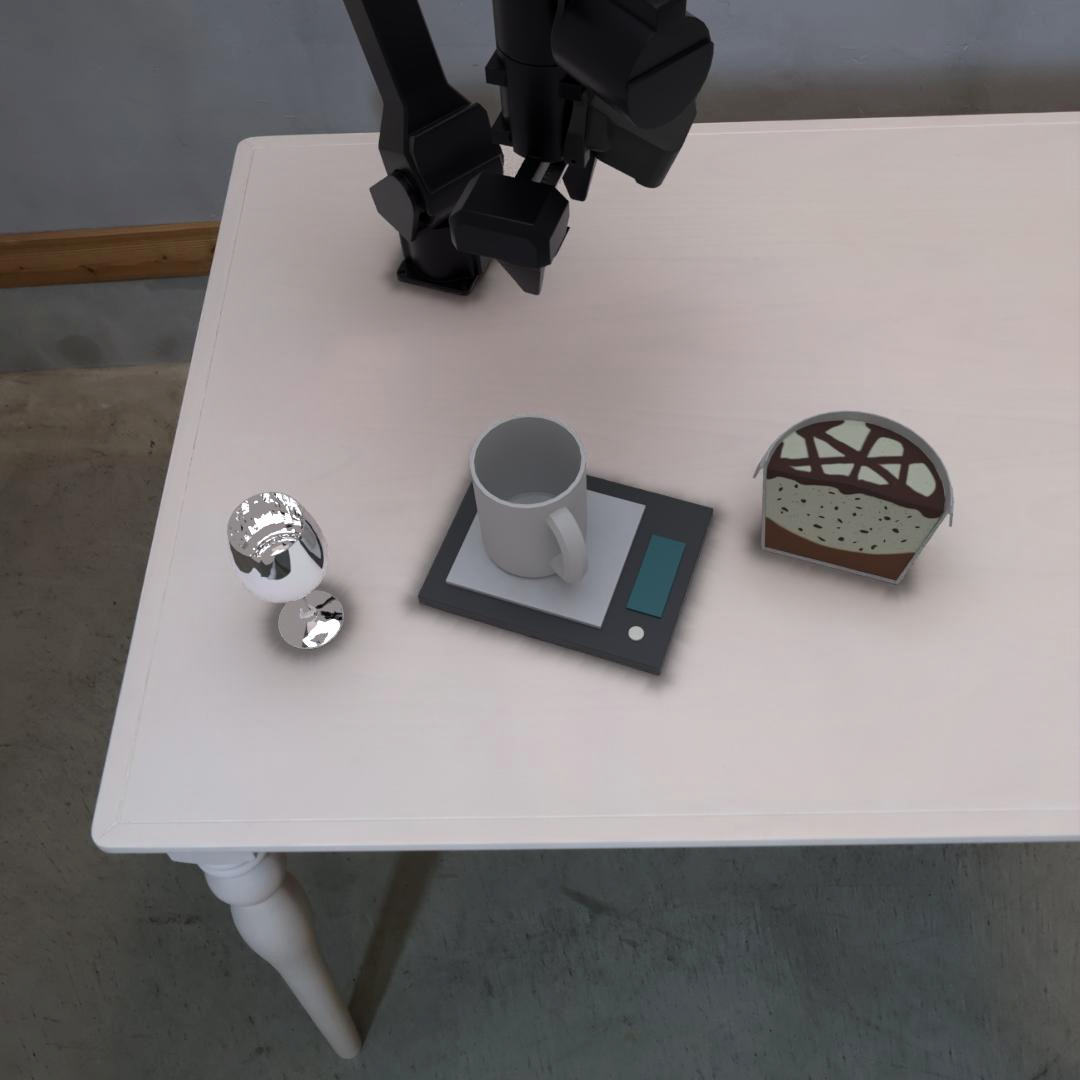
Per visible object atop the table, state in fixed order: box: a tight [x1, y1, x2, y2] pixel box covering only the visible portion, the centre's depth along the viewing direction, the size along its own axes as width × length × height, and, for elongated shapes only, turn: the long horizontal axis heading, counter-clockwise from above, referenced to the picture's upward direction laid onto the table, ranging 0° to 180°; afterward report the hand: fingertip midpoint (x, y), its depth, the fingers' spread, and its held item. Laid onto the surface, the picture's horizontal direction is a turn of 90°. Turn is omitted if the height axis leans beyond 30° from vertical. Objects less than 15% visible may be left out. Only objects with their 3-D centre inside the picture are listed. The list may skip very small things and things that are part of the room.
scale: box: [417, 474, 714, 676], centre depth 77 cm, size 17×13×1 cm
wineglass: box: [226, 491, 345, 650], centre depth 71 cm, size 6×6×12 cm
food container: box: [752, 410, 955, 585], centre depth 74 cm, size 12×6×10 cm, turn 71°
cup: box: [469, 413, 588, 583], centre depth 73 cm, size 7×10×9 cm
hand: (556, 244), depth 76 cm, fingers open, 9 cm apart
